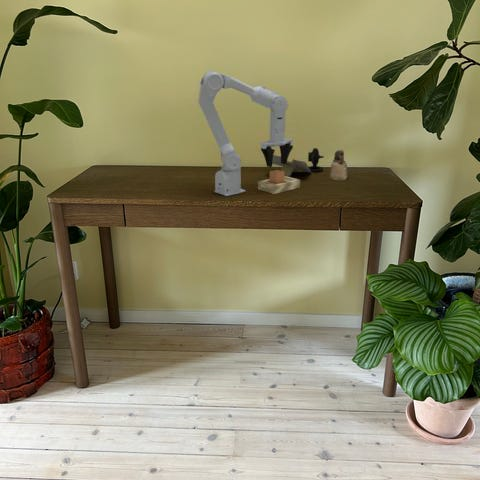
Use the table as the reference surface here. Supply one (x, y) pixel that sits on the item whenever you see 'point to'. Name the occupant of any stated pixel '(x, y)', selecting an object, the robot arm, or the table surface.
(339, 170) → the figurine
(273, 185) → the beige piece
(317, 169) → the webcam
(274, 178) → the block
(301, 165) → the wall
